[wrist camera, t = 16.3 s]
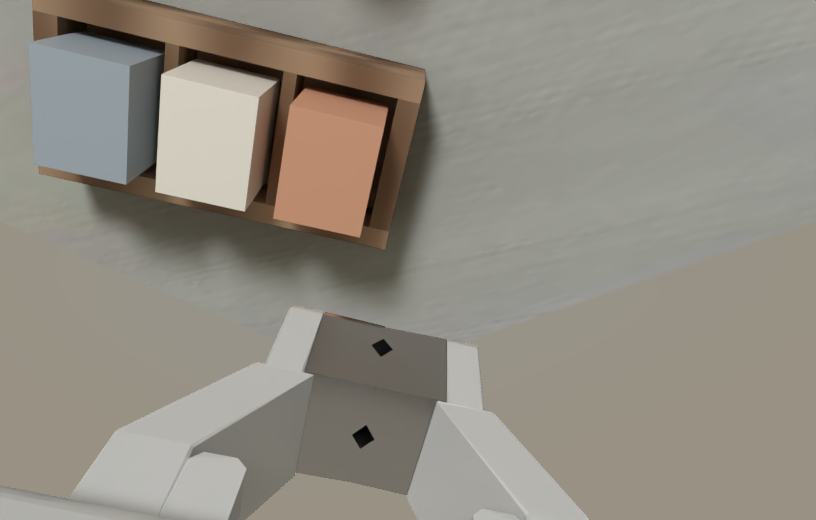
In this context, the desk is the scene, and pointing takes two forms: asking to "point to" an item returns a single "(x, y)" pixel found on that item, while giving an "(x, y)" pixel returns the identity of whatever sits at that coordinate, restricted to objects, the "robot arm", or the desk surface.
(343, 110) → the terracotta key
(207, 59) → the wooden compartment tray
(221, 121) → the ivory key
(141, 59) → the slate key
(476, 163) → the desk surface
